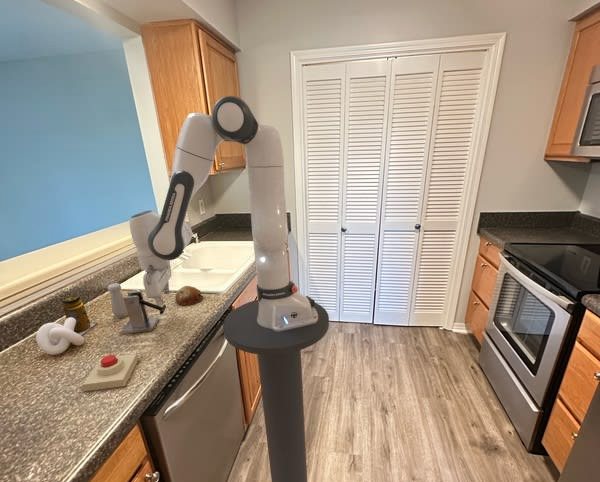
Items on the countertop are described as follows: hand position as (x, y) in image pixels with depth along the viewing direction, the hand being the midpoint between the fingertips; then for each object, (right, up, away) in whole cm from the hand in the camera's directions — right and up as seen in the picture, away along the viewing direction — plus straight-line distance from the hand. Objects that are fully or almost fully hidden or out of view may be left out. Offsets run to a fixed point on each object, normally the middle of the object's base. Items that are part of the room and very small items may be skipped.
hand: (163, 298), depth 112 cm
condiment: (-31, -11, +3) cm, 33 cm away
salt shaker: (-21, -7, +12) cm, 25 cm away
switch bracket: (-9, -10, +3) cm, 14 cm away
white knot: (-28, -16, -8) cm, 33 cm away
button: (-5, -17, -23) cm, 29 cm away
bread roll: (+2, -1, +22) cm, 22 cm away
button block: (-5, -20, -22) cm, 30 cm away
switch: (-6, -3, 0) cm, 7 cm away
